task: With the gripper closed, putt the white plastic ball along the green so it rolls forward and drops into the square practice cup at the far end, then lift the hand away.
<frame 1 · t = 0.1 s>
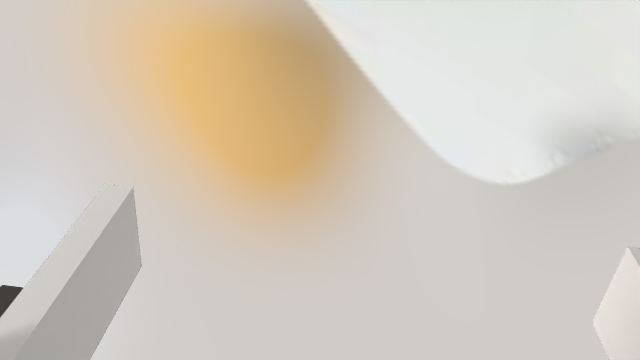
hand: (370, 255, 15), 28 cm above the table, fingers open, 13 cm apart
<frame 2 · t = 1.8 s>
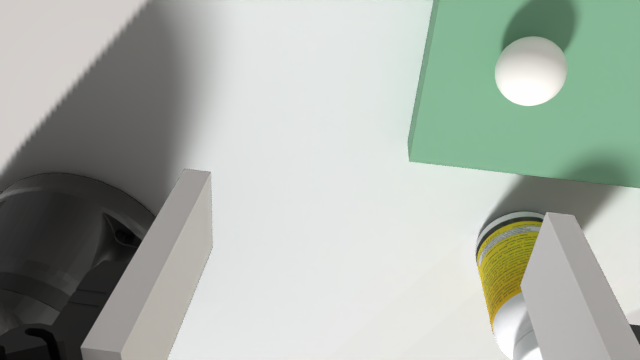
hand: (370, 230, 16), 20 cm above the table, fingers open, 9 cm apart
pill bottle: (518, 242, 40), on the table
green: (619, 56, 33), on the table
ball: (530, 71, 29), point 4 cm above the table, touching green
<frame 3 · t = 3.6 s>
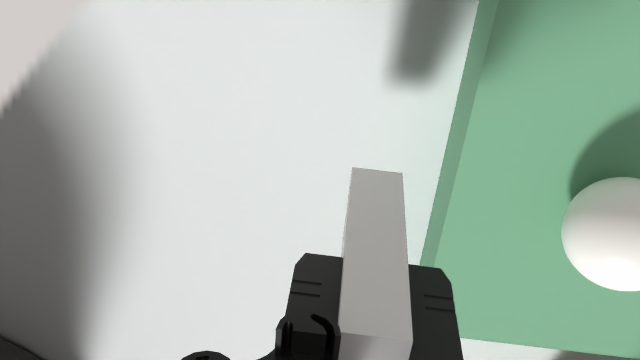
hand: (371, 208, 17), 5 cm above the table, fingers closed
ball: (622, 233, 18), point 4 cm above the table, touching green
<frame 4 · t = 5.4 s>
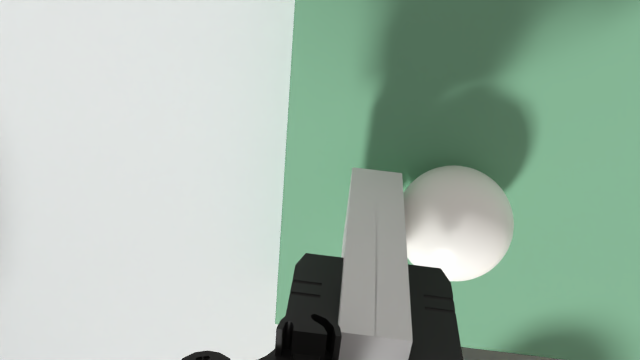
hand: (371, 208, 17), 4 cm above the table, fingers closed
green: (592, 173, 21), on the table
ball: (453, 223, 17), point 4 cm above the table, tilted 11°, touching green
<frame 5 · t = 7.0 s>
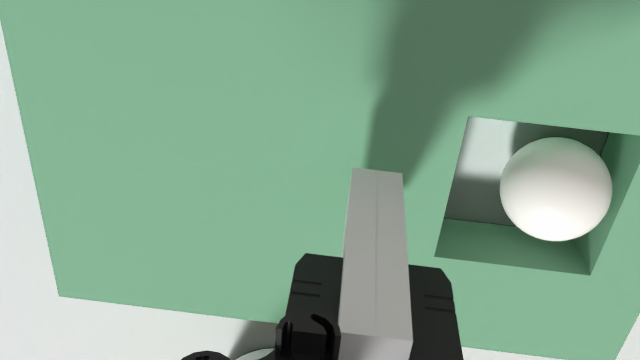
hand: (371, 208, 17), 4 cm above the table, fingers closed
green: (354, 145, 21), on the table
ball: (554, 189, 19), point 2 cm above the table, tilted 80°
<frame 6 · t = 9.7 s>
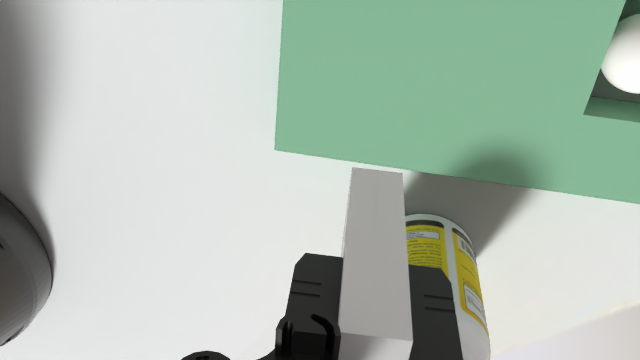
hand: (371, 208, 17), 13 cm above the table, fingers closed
pill bottle: (421, 249, 35), on the table
green: (519, 30, 27), on the table
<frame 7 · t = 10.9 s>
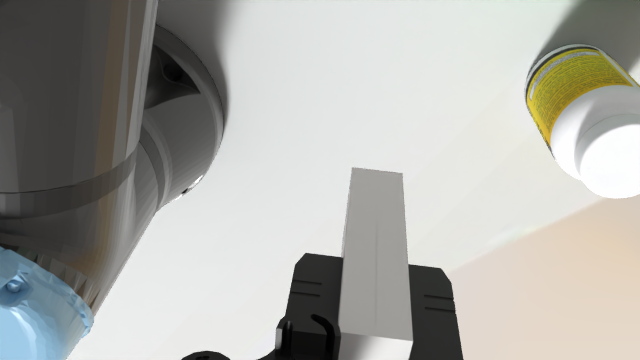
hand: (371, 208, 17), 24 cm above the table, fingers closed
pill bottle: (567, 83, 40), on the table
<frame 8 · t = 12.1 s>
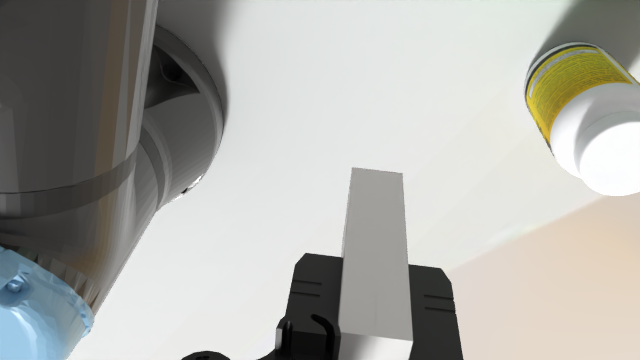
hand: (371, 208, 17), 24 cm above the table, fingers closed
pill bottle: (566, 81, 40), on the table
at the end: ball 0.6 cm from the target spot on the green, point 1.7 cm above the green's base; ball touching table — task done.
